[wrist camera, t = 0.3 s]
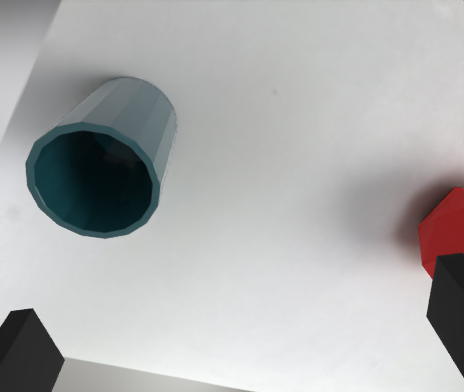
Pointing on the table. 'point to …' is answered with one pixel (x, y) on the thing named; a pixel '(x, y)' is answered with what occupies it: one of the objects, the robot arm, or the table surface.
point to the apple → (443, 230)
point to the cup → (105, 160)
